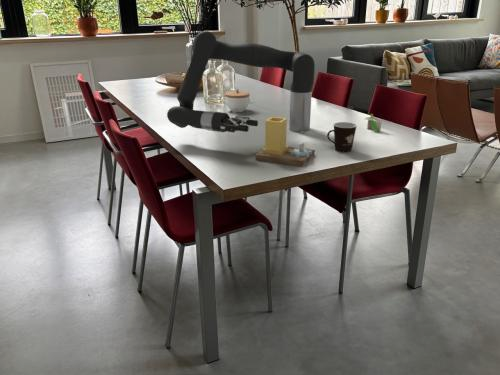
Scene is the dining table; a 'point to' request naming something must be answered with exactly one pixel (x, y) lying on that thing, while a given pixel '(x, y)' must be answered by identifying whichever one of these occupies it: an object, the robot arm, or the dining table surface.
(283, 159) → the gear board
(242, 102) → the lidded bowl
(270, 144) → the yellow hollow block
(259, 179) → the dining table surface
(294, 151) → the gear
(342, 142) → the coffee mug
